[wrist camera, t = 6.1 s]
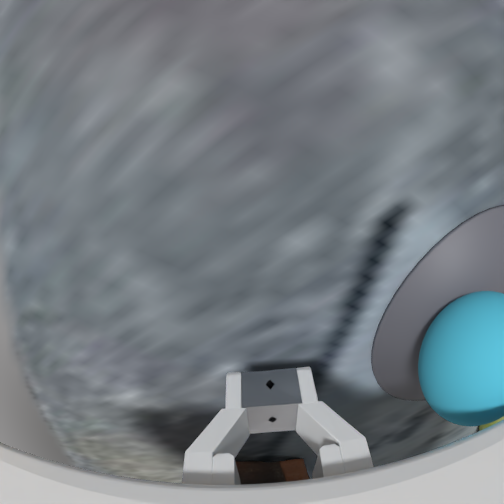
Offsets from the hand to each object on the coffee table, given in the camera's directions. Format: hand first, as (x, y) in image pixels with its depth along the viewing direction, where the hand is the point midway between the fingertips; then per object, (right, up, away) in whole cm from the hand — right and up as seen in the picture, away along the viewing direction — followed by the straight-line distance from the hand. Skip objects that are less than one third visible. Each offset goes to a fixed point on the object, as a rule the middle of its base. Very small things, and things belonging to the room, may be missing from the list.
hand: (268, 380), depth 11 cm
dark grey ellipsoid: (+11, +1, +2) cm, 11 cm away
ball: (+9, 0, -1) cm, 9 cm away
